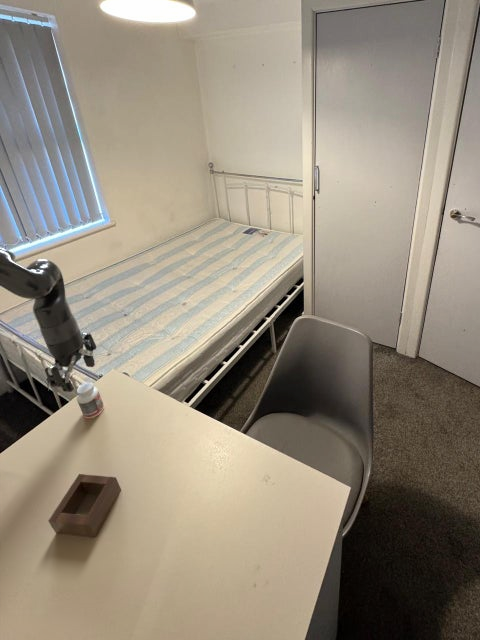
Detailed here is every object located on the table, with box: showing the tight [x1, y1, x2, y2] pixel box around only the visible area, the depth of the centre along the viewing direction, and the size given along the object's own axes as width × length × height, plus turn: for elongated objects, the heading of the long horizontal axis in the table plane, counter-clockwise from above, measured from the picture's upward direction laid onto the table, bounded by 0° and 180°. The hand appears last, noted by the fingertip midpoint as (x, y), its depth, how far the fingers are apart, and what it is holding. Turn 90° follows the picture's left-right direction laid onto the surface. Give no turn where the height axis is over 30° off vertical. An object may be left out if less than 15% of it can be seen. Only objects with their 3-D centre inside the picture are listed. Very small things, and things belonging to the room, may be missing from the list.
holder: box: [48, 473, 122, 539], centre depth 72 cm, size 9×9×5 cm
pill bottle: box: [76, 381, 105, 419], centre depth 94 cm, size 5×5×10 cm
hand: (80, 377), depth 90 cm, fingers open, 8 cm apart
